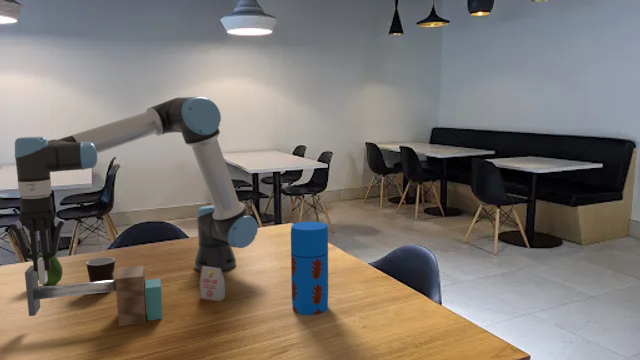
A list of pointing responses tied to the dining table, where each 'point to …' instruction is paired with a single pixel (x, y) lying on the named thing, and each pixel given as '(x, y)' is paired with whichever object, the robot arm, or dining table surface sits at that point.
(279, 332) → the dining table surface
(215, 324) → the dining table surface
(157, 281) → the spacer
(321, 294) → the thermos
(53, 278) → the avocado
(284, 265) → the dining table surface
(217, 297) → the white paper food packet
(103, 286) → the shaft
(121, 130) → the robot arm
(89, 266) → the coffee mug
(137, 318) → the bearing block
